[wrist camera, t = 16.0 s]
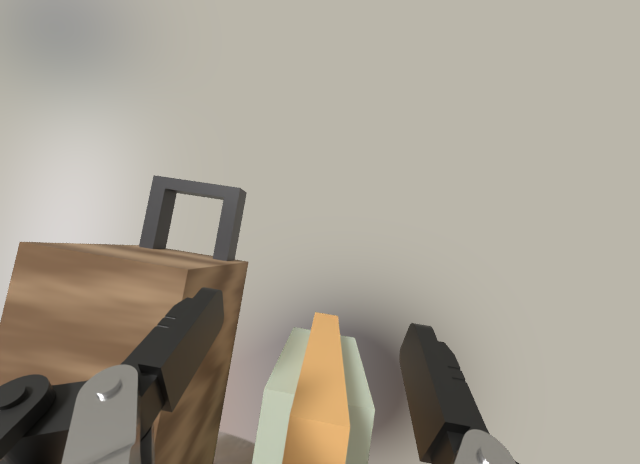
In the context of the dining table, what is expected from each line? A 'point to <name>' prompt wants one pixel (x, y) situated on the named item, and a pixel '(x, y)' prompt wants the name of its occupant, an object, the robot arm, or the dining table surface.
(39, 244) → the walnut post
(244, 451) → the dining table surface
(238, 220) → the dark gray square arch
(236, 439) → the dining table surface
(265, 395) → the sage green upright block
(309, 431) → the bar
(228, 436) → the dining table surface
